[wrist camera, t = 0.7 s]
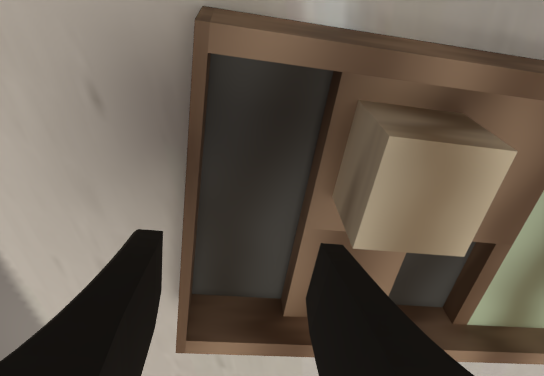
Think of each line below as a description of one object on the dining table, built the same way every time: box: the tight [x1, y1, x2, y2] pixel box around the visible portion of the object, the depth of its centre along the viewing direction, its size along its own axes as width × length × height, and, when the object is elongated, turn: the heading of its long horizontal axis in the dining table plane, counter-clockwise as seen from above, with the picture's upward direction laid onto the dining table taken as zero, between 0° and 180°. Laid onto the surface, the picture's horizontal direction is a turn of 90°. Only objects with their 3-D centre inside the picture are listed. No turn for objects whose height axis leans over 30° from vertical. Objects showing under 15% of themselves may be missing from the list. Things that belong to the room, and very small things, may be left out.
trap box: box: [176, 6, 544, 364], centre depth 21 cm, size 26×17×4 cm, turn 81°
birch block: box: [332, 100, 518, 257], centre depth 17 cm, size 5×5×4 cm
